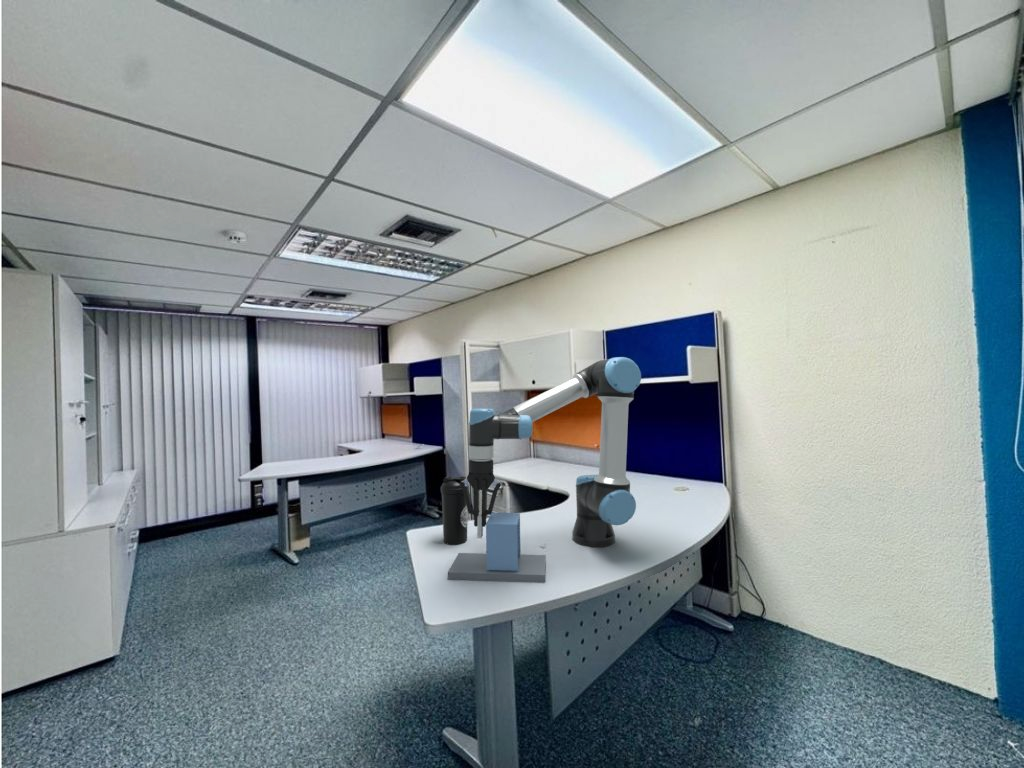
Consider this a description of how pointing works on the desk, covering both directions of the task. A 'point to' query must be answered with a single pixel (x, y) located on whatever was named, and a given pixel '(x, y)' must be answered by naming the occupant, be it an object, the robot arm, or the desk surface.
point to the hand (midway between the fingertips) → (480, 536)
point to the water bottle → (454, 511)
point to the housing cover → (503, 541)
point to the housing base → (476, 569)
